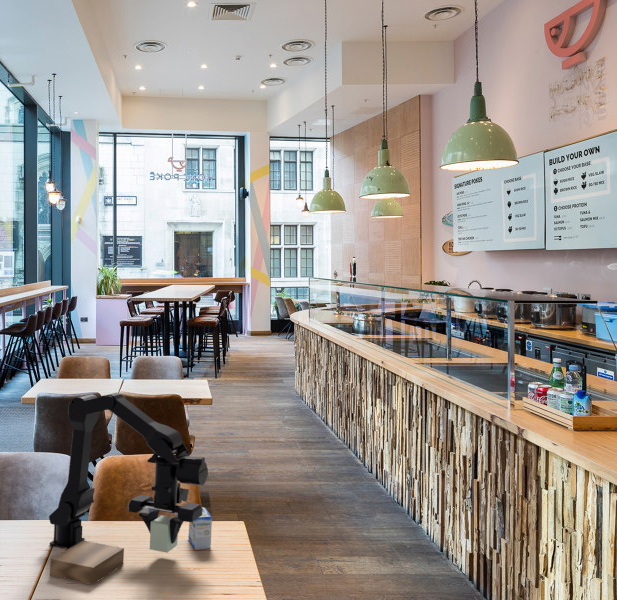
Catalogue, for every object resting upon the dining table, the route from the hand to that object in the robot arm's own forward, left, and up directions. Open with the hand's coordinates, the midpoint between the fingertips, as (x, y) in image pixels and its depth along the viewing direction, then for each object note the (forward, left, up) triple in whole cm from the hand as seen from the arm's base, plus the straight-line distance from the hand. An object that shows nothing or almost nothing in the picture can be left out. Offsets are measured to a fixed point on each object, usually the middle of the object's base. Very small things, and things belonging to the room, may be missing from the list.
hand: (163, 541), depth 162 cm
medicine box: (+4, +12, -5) cm, 13 cm away
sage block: (0, 0, -2) cm, 2 cm away
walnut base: (-13, -13, -4) cm, 19 cm away
